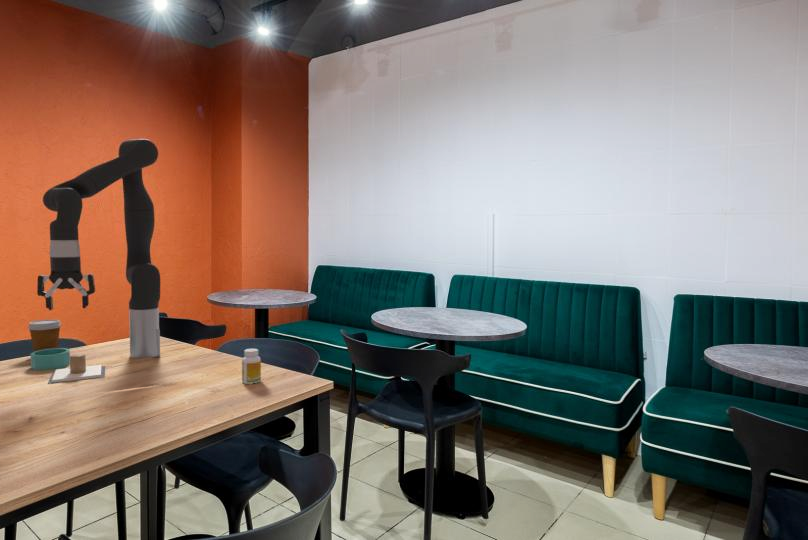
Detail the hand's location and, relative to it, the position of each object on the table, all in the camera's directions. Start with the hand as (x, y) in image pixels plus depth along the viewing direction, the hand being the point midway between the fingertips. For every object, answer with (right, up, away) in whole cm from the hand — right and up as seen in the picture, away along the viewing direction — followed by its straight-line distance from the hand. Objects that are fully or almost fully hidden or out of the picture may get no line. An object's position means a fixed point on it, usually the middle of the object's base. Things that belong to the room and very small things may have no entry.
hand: (67, 308), depth 149 cm
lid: (+2, -20, +1) cm, 20 cm away
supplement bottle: (+56, -22, -1) cm, 60 cm away
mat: (+2, -21, +1) cm, 21 cm away
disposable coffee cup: (-24, -18, +24) cm, 39 cm away
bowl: (-12, -20, +10) cm, 25 cm away
